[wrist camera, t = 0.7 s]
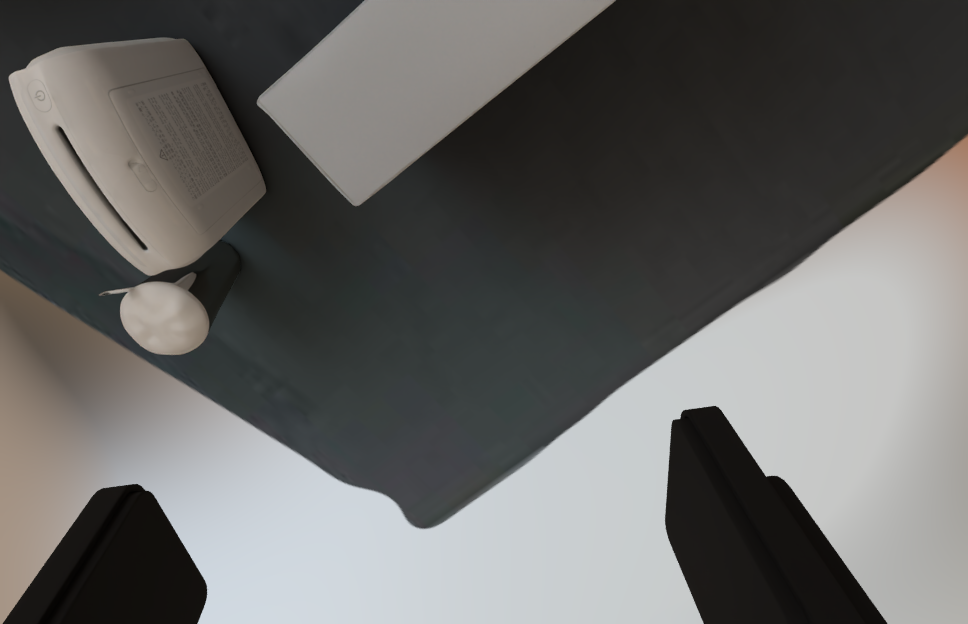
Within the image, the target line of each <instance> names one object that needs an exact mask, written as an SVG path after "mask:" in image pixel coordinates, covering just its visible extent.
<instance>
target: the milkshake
mask: <svg viewBox="0 0 968 624" xmlns="http://www.w3.org/2000/svg"><path fill="white" fill-rule="evenodd" d="M240 271H241V264H240V256H239V255H238V254H237V252H236V251H235V250H234V249H233V248H232V246H231V245H230V244H228V243H225V242H222V241H220V240H219V241H218V242H217V243H216V244H215V245H213V246H212V247H211V248H210V249H209V250H207V251H206V252H205V253H204V254H203V255H202V256H201V257H200V258H199V259H198V260H196V261H195V262H193V263H191V264H189V265H187V266H185V267H181V268H177V269H170V270H166V271H163V272H161V273H159V274H157V275H152V276H151V277H149V278H148V279H146V280H145V281H143V282H142V283H140V284H139V285H137V286H136V287H132V288H125V289H118V290H111V291H105V292H103V293H101V294H100V295H99V296H102V295H109V294H115V293H122V292H128V293H127V294H126V295H125V297H124V298H123V300H122V302H121V305H120V316H121V320H122V323H123V326H124V328H125V329H126V331H127V332H128V333H129V335H130V336H131V337H132V338H133V339H134V340H135V341H136V342H137V343H138V344H139V345H141V346H142V347H143V348H145V349H146V350H148V351H150V352H153V353H156V354H168V355H179V354H184V353H187V352H189V351H192V350H194V349H195V348H197V347H198V346H199V345H200V344H201V343H202V342H203V341H204V340H205V338H206V336H207V334H208V332H209V330H210V328H211V326H212V324H213V322H214V320H215V318H216V316H217V314H218V312H219V309H220V307H221V306H222V304H223V302H224V300H225V298H226V296H227V295H228V293H229V291H230V289H231V287H232V286H233V284H234V282H235V280H236V278H237V276H238V275H239V273H240Z"/></svg>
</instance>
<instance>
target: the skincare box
mask: <svg viewBox="0 0 968 624" xmlns="http://www.w3.org/2000/svg"><path fill="white" fill-rule="evenodd" d="M615 1H616V0H365V1H364V2H363V3H362V4H360V5H359V6H358V7H357V8H356V9H355V10H354V11H353V12H352V13H351V14H350V15H349V16H348V17H347V18H345V19H344V20H343V21H342V22H341V23H340V24H339V25H338V26H337V27H336V28H335V29H334V30H333V31H332V32H330V33H329V34H328V35H327V36H326V37H325V38H324V39H323V40H322V41H321V42H320V43H319V44H317V45H316V46H315V47H314V48H313V49H312V50H311V51H310V52H309V53H308V54H307V55H305V56H304V57H303V58H302V59H301V60H300V61H299V62H298V63H296V64H295V65H294V66H293V67H292V68H291V69H290V70H289V71H287V72H286V73H285V74H284V75H283V76H282V77H281V78H280V79H278V80H277V81H276V82H275V83H274V84H273V85H272V86H271V87H269V88H268V89H267V90H266V91H265V92H264V93H263V94H262V95H260V96H259V98H258V100H257V105H258V106H259V107H260V108H261V109H263V110H264V111H265V112H266V113H267V114H268V115H269V116H270V117H271V118H272V119H273V120H274V121H275V122H276V123H277V125H278V126H279V127H280V128H281V129H282V130H283V131H284V132H285V133H286V134H287V135H288V137H289V138H290V139H291V140H292V141H293V142H294V143H295V144H296V145H297V146H298V148H299V149H300V150H301V151H302V152H303V153H304V154H305V155H306V156H307V157H308V158H309V160H310V161H311V162H312V163H313V164H314V165H315V166H316V167H317V168H318V169H319V171H320V172H321V173H322V174H323V175H324V176H325V177H326V178H327V179H328V180H329V181H330V182H331V183H332V184H333V185H334V187H335V188H336V189H337V190H338V191H339V192H340V193H341V194H342V195H343V196H344V197H345V198H347V199H348V200H349V202H350V203H351V204H352V205H354V206H359V205H360V204H362V203H363V202H364V201H366V200H367V199H368V198H370V197H371V196H372V195H374V194H375V193H376V192H377V191H379V190H380V189H381V188H382V187H384V186H385V185H386V184H388V183H389V182H390V181H391V180H393V179H394V178H395V177H396V176H398V175H399V174H400V173H401V172H402V171H404V170H405V169H406V168H407V167H408V166H410V165H411V164H412V163H413V162H415V161H416V160H417V159H418V158H420V157H421V156H422V155H423V154H425V153H426V152H427V151H428V150H430V149H431V148H432V147H433V146H435V145H436V144H437V143H438V142H440V141H441V140H442V139H443V138H445V137H446V136H447V135H448V134H450V133H451V132H452V131H453V130H455V129H456V128H457V127H458V126H459V125H461V124H462V123H463V122H464V121H466V120H467V119H468V118H469V117H471V116H472V115H473V114H474V113H476V112H477V111H478V110H479V109H481V108H482V107H483V106H484V105H486V104H487V103H488V102H489V101H491V100H492V99H493V98H494V97H496V96H497V95H498V94H499V93H501V92H502V91H503V90H504V89H506V88H507V87H508V86H509V85H511V84H512V83H513V82H514V81H516V80H517V79H518V78H519V77H521V76H522V75H523V74H524V73H526V72H527V71H528V70H529V69H531V68H532V67H533V66H534V65H536V64H537V63H538V62H540V61H541V60H542V59H543V58H545V57H546V56H547V55H548V54H550V53H551V52H552V51H553V50H555V49H556V48H557V47H558V46H560V45H561V44H562V43H563V42H565V41H566V40H567V39H568V38H570V37H571V36H572V35H573V34H575V33H576V32H577V31H578V30H580V29H581V28H582V27H583V26H585V25H586V24H587V23H588V22H590V21H591V20H592V19H593V18H595V17H596V16H597V15H598V14H600V13H601V12H602V11H603V10H605V9H606V8H607V7H608V6H610V5H611V4H612V3H613V2H615Z"/></svg>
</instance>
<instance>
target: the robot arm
mask: <svg viewBox="0 0 968 624" xmlns="http://www.w3.org/2000/svg"><path fill="white" fill-rule="evenodd" d="M667 486H668V487H667V501H666V515H665V525H666V530H667V535H668V538H669V541H670V544H671V546H672V548H673V551H674V553H675V556H676V558H677V561H678V563H679V565H680V568H681V570H682V572H683V575H684V577H685V580H686V582H687V584H688V587H689V589H690V591H691V594H692V596H693V599H694V601H695V604H696V606H697V608H698V611H699V613H700V616H701V618H702V620H703V623H704V624H887V622H886V621H885V620H884V618H883V617H882V615H881V614H880V613H879V611H878V610H877V608H876V607H875V606H874V604H873V603H872V602H871V600H870V599H869V597H868V596H867V594H866V593H865V591H864V590H863V589H862V587H861V586H860V584H859V583H858V582H857V580H856V579H855V578H854V576H853V575H852V574H851V572H850V571H849V569H848V568H847V566H846V565H845V563H844V562H843V561H842V559H841V558H840V556H839V555H838V554H837V552H836V551H835V549H834V548H833V547H832V545H831V544H830V542H829V541H828V540H827V538H826V537H825V535H824V534H823V533H822V531H821V530H820V528H819V527H818V525H817V524H816V523H815V521H814V520H813V519H812V517H811V516H810V514H809V513H808V511H807V510H806V509H805V507H804V506H803V504H802V503H801V502H800V500H799V499H798V497H797V496H796V495H795V493H794V492H793V490H792V489H791V488H790V487H789V485H788V484H787V483H786V482H785V481H784V480H783V479H781V478H780V477H778V476H767V477H766V476H765V475H764V473H763V472H762V470H761V469H760V467H759V466H758V464H757V463H756V461H755V460H754V458H753V457H752V455H751V454H750V452H749V451H748V450H747V448H746V447H745V445H744V444H743V442H742V441H741V439H740V438H739V436H738V435H737V433H736V432H735V430H734V429H733V427H732V426H731V424H730V423H729V421H728V420H727V418H726V417H725V416H724V414H723V412H722V411H721V410H720V409H719V408H718V407H716V406H711V407H704V408H697V409H689V410H684V411H683V412H682V414H681V419H677V420H673V422H672V427H671V443H670V456H669V471H668V485H667ZM206 598H207V585H206V583H205V580H204V579H203V577H202V575H201V573H200V572H199V570H198V568H197V567H196V565H195V563H194V562H193V560H192V558H191V557H190V555H189V553H188V552H187V550H186V548H185V547H184V545H183V543H182V542H181V540H180V538H179V537H178V535H177V533H176V532H175V530H174V528H173V527H172V525H171V523H170V522H169V520H168V518H167V517H166V515H165V513H164V512H163V510H162V509H161V507H160V505H159V503H158V502H157V500H156V498H155V497H154V495H153V494H152V493H151V492H149V491H145V490H144V489H143V488H142V486H140V485H138V484H132V485H124V486H117V487H109V488H103V489H101V490H99V491H97V492H96V493H95V494H94V495H93V496H92V498H91V499H90V501H89V502H88V504H87V505H86V506H85V508H84V509H83V511H82V512H81V513H80V515H79V516H78V518H77V519H76V521H75V522H74V523H73V525H72V526H71V528H70V529H69V530H68V532H67V533H66V535H65V536H64V537H63V539H62V540H61V542H60V543H59V545H58V546H57V547H56V549H55V550H54V552H53V553H52V554H51V556H50V557H49V559H48V560H47V561H46V563H45V564H44V566H43V567H42V569H41V570H40V571H39V573H38V574H37V576H36V577H35V578H34V580H33V581H32V583H31V584H30V586H29V587H28V588H27V590H26V591H25V593H24V594H23V596H22V597H21V598H20V600H19V601H18V603H17V604H16V605H15V607H14V608H13V610H12V611H11V612H10V614H9V615H8V617H7V618H6V620H5V621H4V622H3V624H197V623H198V621H199V618H200V615H201V613H202V610H203V608H204V605H205V602H206Z"/></svg>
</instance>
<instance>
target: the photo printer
mask: <svg viewBox="0 0 968 624" xmlns="http://www.w3.org/2000/svg"><path fill="white" fill-rule="evenodd" d="M9 82H10V86H11V89H12V92H13V95H14V98H15V101H16V103H17V106H18V108H19V111H20V113H21V115H22V117H23V119H24V121H25V123H26V125H27V127H28V129H29V131H30V133H31V134H32V136H33V138H34V140H35V142H36V143H37V145H38V147H39V149H40V150H41V152H42V154H43V155H44V157H45V159H46V160H47V162H48V164H49V165H50V167H51V168H52V170H53V171H54V173H55V174H56V176H57V177H58V179H59V180H60V182H61V183H62V184H63V186H64V187H65V189H66V190H67V192H68V193H69V194H70V196H71V197H72V198H73V200H74V201H75V203H76V204H77V205H78V206H79V208H80V209H81V210H82V211H83V213H84V214H85V215H86V216H87V218H88V219H89V220H90V221H91V223H92V224H93V225H94V226H95V227H96V228H97V230H98V231H99V232H100V233H101V234H102V235H103V236H104V238H105V239H106V240H107V241H108V242H109V243H110V244H111V245H112V246H113V247H114V248H115V249H116V250H117V251H118V252H119V253H120V254H121V255H122V256H123V257H124V258H125V259H127V260H128V261H129V262H130V263H131V264H133V265H134V266H135V267H136V268H138V269H139V270H141V271H142V272H143V273H145V274H146V275H157V274H159V273H161V272H163V271H166V270H170V269H177V268H181V267H185V266H187V265H189V264H191V263H193V262H195V261H196V260H198V259H199V258H200V257H201V256H202V255H203V254H204V253H205V252H206V251H207V250H209V249H210V248H211V247H212V246H213V245H215V244H216V243H217V242H218V241H219V240H220V239H221V238H222V237H223V236H224V235H225V234H226V233H227V231H229V229H230V228H231V227H232V226H233V225H234V224H235V223H236V222H237V221H238V220H239V219H240V218H241V217H242V216H243V215H244V214H245V213H246V212H247V211H248V210H249V209H250V208H251V207H252V206H253V205H254V204H255V203H256V202H257V201H259V199H260V198H261V197H262V196H263V195H264V194H265V193H266V187H265V183H264V180H263V177H262V175H261V172H260V170H259V168H258V165H257V163H256V161H255V159H254V157H253V155H252V153H251V151H250V149H249V147H248V145H247V143H246V141H245V139H244V137H243V135H242V134H241V132H240V130H239V128H238V126H237V124H236V122H235V120H234V118H233V116H232V114H231V113H230V111H229V109H228V107H227V105H226V103H225V101H224V99H223V98H222V96H221V94H220V92H219V90H218V89H217V86H216V84H215V82H214V81H213V79H212V77H211V76H210V74H209V72H208V70H207V69H206V67H205V65H204V63H203V62H202V60H201V58H200V57H199V55H198V54H197V53H196V51H195V50H194V48H193V47H192V46H191V44H190V43H189V42H188V41H187V40H186V39H173V38H165V37H162V38H151V39H139V40H130V41H119V42H108V43H98V44H88V45H78V46H69V47H61V48H57V49H55V50H53V51H50V52H48V53H46V54H44V55H41V56H39V57H37V58H35V59H33V60H32V61H31V62H30V63H29V64H28V66H27V67H26V69H23V70H19V71H16V72H14V73H12V74H11V75H10V76H9Z"/></svg>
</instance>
